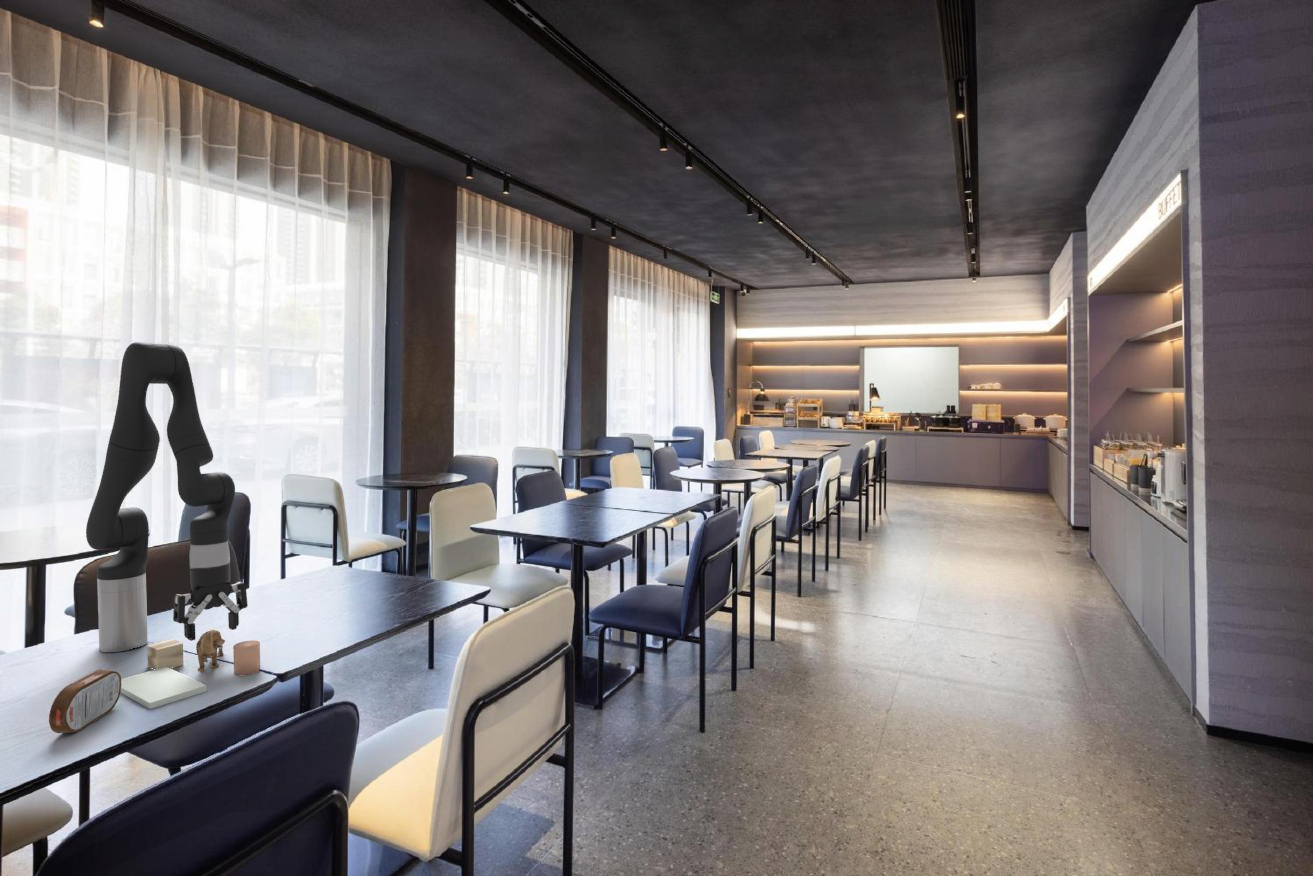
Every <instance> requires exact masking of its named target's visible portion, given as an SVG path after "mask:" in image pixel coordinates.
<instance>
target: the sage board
mask: <svg viewBox="0 0 1313 876" xmlns="http://www.w3.org/2000/svg"><path fill="white" fill-rule="evenodd" d="M207 686H208V685H207V684H205V683H202V682H200V681H199V680H197V679H194V678H191V677H190V676H187V675H186V674H183V673H181V672H179V671H177V670H175V669H174V668H168V667H162V668H159V669H155V670H153V669H151V670H148V671H145V672H141V673H138V674H137V673H136V674H133V675H130V676H126V677H123V678H121V693H120V694H123V695H124V696H126V697H128V698H129V699H131V700H133V701H135V702H137V703H139V704H141V705H142V706H144V707H146V708H148V709H149V710H151V709H154V708H157V707H161V706H164V705H167V704H171V703H173V702H176V701H179V700H182V699H187V698H189V697H193V696H196V695H199V694H202V693H204V692H207Z"/></svg>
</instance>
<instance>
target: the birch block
mask: <svg viewBox="0 0 1313 876" xmlns="http://www.w3.org/2000/svg"><path fill="white" fill-rule="evenodd" d="M146 647H147V648H146V649H147V650H146V653H147V667H148V666H149V667H150V668H149V667H148V668H149V669H151V668H153V669H159V668H162V667H168V668H171V669H173V668H172V667H174V668H177V667H180V665H181V666H184V643H183V642H181V641H178V640H176V639H174V638H171V639H168V640H163V641H159V642H155V643H151V644H148V645H147V646H146ZM176 666H177V667H176ZM153 669H152V670H153Z"/></svg>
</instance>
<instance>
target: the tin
mask: <svg viewBox="0 0 1313 876" xmlns="http://www.w3.org/2000/svg"><path fill="white" fill-rule="evenodd" d="M121 679H122V675H121V674H120V673H119V672H118V671H116V670H113V669H112V670H111V669H109V670H108V669H102V668H101V669H96V670H95V671H93V672H91V673H89V674H87V675H85V676H83V677H82V678H79V679H78V680H76V681H74V682H71V683H70V684H68V685H65V687H63V688H62V689H61V691H59V693H58V694H56V697H55V698H54V699H53V702H52V704H51V707H50V710H49V713H48V714H49V715H48V723H49V727H50V729H51V731H52V732H53V733H56V734H74V733H77V732H79V731H82V730H83V729H84V728H86V727H88V726H89V725H91V724H93V723H94V722H96V721H98V720H99V719H101V718H102V717H104V716H106V715H108V714H109V713H111V711H112V710H113V709H114V708H115V706H116V705H117V703H118V702H119V699H120V697H121V694H122V693H121Z"/></svg>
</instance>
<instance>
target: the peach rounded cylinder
mask: <svg viewBox="0 0 1313 876" xmlns="http://www.w3.org/2000/svg"><path fill="white" fill-rule="evenodd" d="M232 649H233V653H232V654H233V675H234V674H235V675H234V676H237V675H245V676H249V674H250V675H254V674H257V673H259V672H260V671H261V643H260V641H259V640H244V641H241V642H238V643H234V645H233V647H232ZM259 670H260V671H259ZM253 673H254V674H253Z"/></svg>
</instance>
